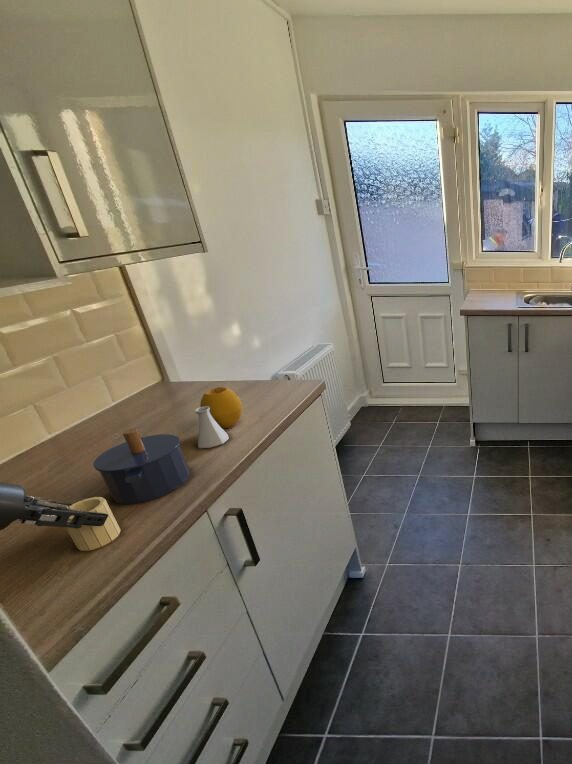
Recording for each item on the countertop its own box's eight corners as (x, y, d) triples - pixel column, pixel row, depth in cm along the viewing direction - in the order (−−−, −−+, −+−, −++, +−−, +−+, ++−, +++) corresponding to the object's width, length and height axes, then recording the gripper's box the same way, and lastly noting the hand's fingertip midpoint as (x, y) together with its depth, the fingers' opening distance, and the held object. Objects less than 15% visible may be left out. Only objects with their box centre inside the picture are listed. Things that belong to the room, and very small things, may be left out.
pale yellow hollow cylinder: (73, 555, 75) (54, 523, 72) (83, 535, 80) (66, 504, 77) (116, 542, 78) (100, 510, 75) (123, 523, 83) (108, 493, 80)
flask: (194, 451, 107) (181, 417, 103) (201, 438, 113) (189, 405, 109) (226, 445, 109) (215, 412, 106) (232, 432, 116) (221, 400, 112)
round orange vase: (215, 419, 123) (202, 383, 118) (251, 415, 125) (240, 379, 121) (201, 435, 114) (188, 397, 110) (241, 430, 117) (229, 393, 112)
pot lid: (86, 483, 82) (72, 457, 80) (105, 449, 93) (93, 426, 91) (177, 460, 89) (167, 436, 86) (184, 432, 100) (175, 409, 98)
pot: (102, 520, 84) (85, 485, 80) (123, 473, 99) (109, 442, 95) (185, 497, 90) (172, 464, 87) (193, 456, 105) (181, 426, 102)
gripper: (9, 488, 62) (126, 502, 76) (-43, 471, 66) (77, 487, 80) (-24, 541, 59) (103, 544, 74) (-75, 520, 63) (55, 527, 78)
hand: (90, 515), depth 77 cm, fingers open, 8 cm apart
